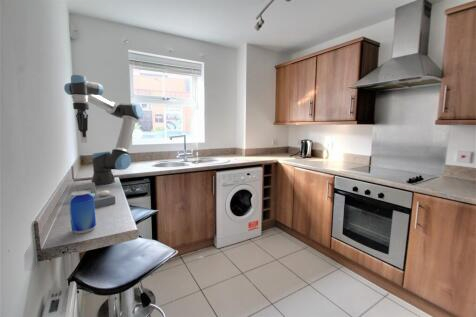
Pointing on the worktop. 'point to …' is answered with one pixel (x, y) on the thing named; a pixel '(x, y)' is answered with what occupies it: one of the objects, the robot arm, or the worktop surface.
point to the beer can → (82, 211)
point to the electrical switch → (87, 187)
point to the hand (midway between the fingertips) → (84, 142)
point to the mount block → (103, 200)
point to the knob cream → (104, 193)
